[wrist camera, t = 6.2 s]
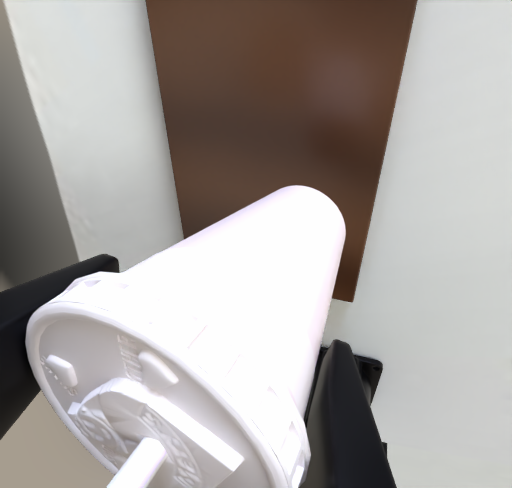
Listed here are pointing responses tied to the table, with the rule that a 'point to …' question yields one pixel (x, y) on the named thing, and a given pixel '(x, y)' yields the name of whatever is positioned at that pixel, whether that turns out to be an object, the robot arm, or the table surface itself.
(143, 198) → the table surface
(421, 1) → the table surface
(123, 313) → the smoothie
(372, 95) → the board
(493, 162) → the table surface
